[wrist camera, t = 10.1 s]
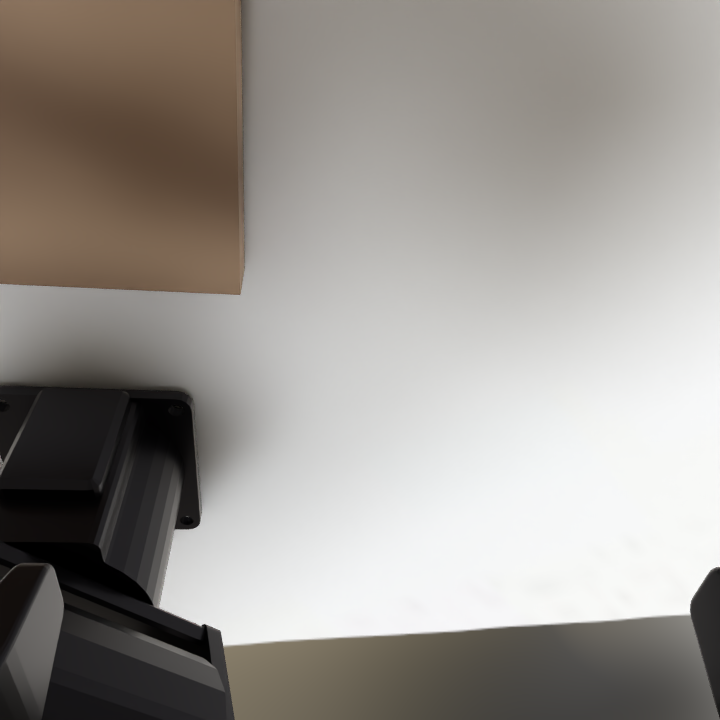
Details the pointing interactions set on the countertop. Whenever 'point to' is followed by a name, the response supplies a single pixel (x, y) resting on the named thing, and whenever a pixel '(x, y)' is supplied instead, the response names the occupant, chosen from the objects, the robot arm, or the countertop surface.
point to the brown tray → (122, 144)
